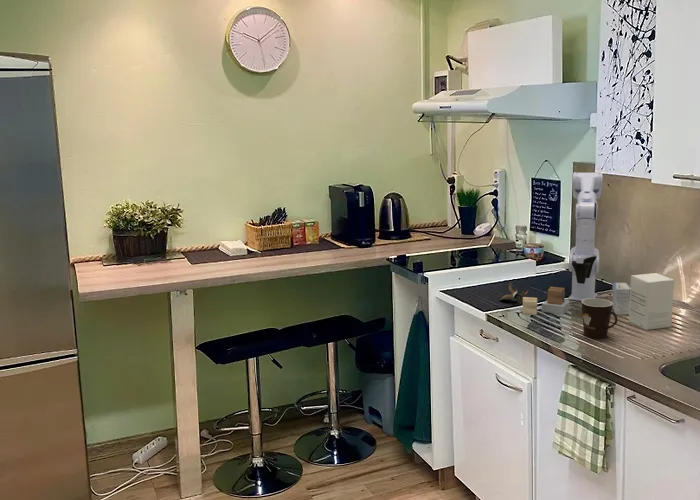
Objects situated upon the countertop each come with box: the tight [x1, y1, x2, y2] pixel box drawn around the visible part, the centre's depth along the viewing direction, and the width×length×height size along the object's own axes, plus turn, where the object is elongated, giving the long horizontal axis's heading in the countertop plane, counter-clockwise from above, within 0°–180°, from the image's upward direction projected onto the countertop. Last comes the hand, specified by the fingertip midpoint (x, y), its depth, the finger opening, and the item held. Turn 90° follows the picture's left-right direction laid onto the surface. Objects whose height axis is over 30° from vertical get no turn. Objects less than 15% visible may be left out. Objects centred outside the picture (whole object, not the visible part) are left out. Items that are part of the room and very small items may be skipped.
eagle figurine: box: [499, 281, 530, 305], centre depth 241 cm, size 8×7×9 cm
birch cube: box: [522, 296, 538, 316], centre depth 229 cm, size 4×4×4 cm
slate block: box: [541, 299, 571, 315], centre depth 231 cm, size 7×7×3 cm
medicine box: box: [611, 282, 630, 316], centre depth 227 cm, size 8×4×9 cm, turn 168°
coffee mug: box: [580, 297, 618, 340], centre depth 204 cm, size 12×9×10 cm
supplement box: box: [628, 272, 675, 331], centre depth 213 cm, size 9×9×15 cm
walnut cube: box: [546, 286, 566, 305], centre depth 230 cm, size 4×4×4 cm
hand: (583, 280), depth 226 cm, fingers open, 7 cm apart
